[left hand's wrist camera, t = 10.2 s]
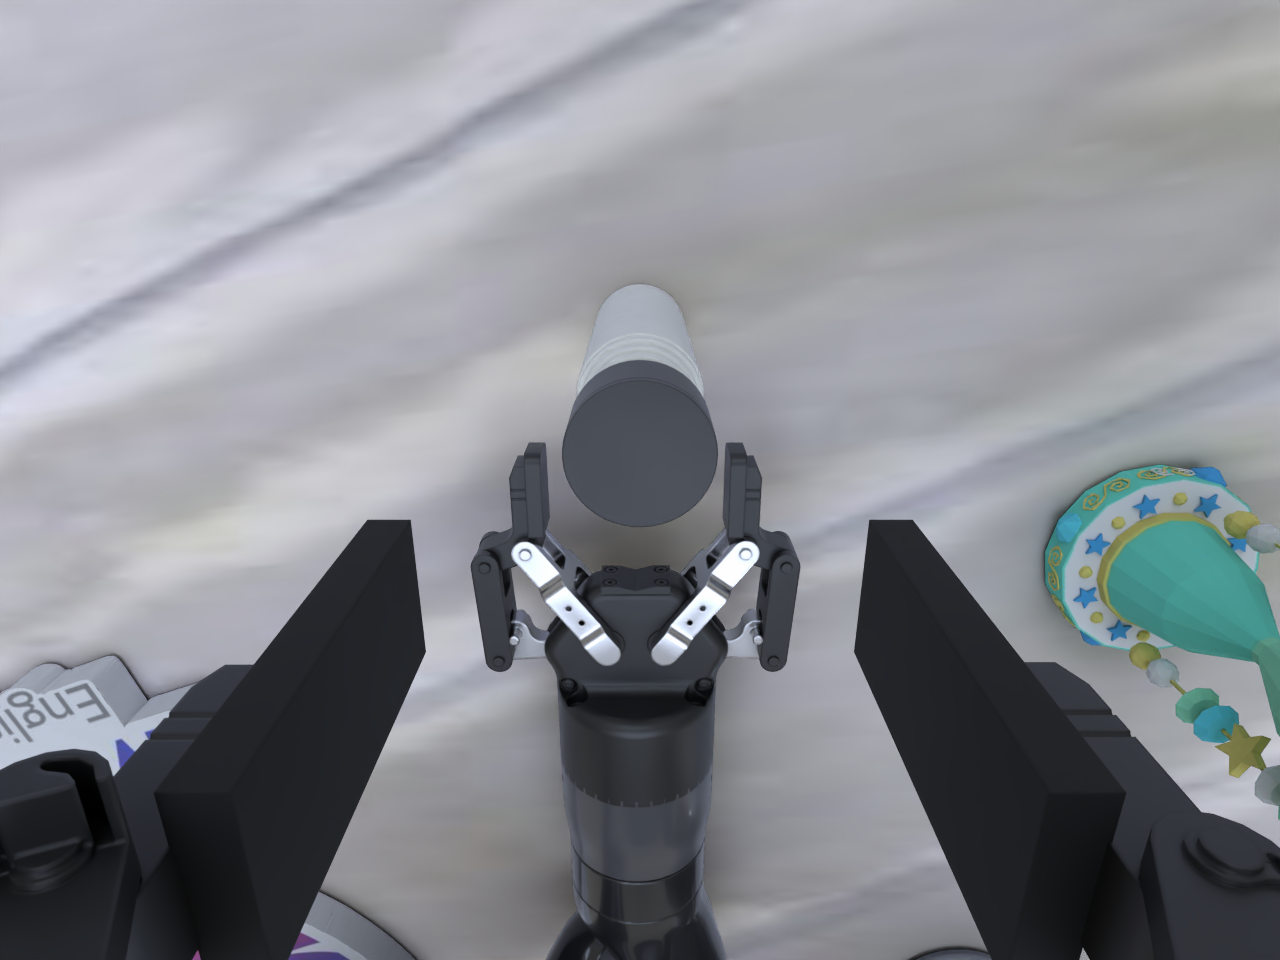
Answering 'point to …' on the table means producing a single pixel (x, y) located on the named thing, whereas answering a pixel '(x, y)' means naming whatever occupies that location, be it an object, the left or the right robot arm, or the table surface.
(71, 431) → the table surface
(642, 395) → the cap
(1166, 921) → the left robot arm
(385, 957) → the decorative sign
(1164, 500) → the decorative hourglass
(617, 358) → the bottle
